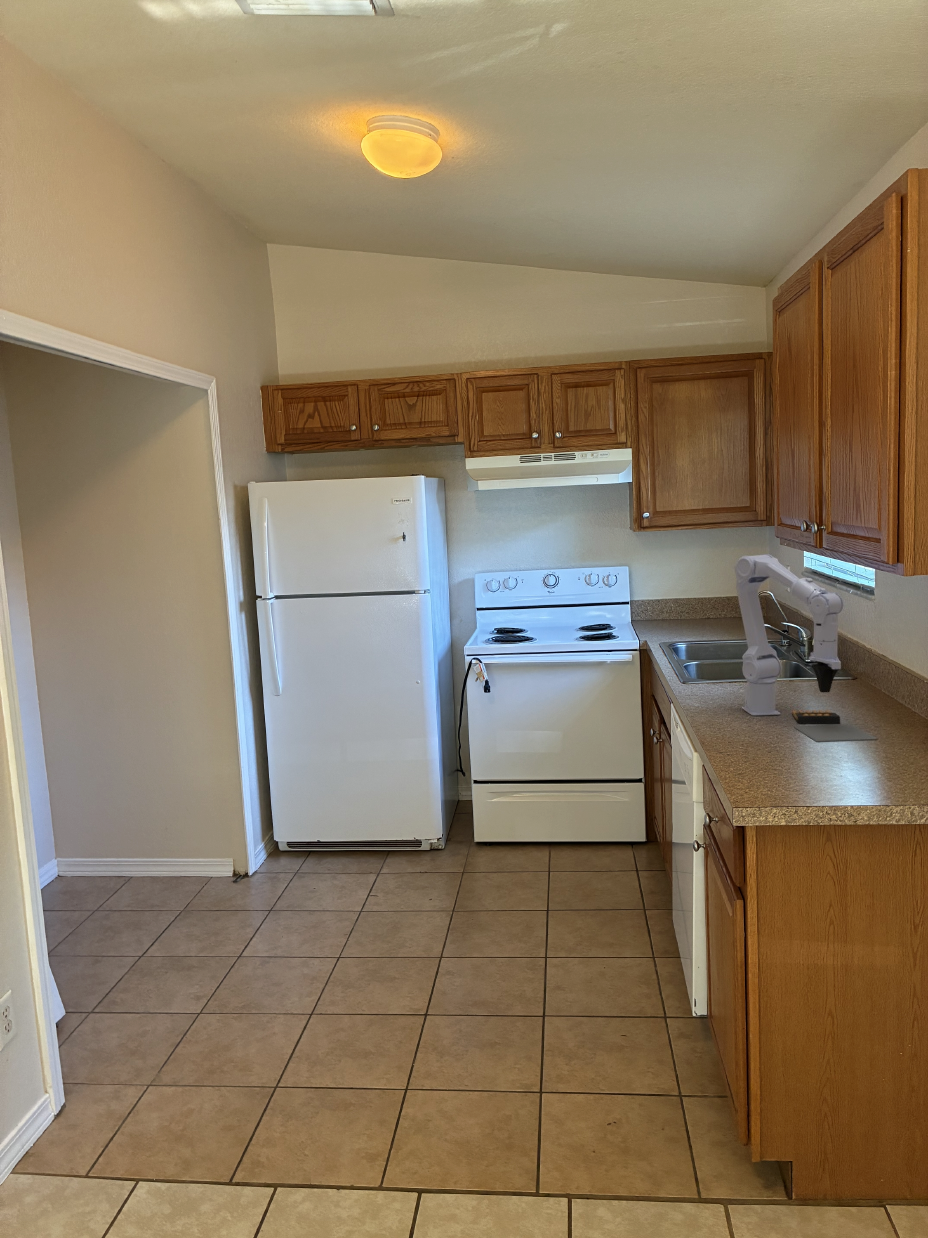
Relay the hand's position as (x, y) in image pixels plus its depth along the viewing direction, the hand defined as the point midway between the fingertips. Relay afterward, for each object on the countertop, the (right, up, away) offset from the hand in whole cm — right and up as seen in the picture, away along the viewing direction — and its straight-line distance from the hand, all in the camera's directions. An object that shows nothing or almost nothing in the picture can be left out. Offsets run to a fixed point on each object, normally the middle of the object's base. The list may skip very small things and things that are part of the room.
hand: (824, 691), depth 241 cm
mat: (0, -10, -5) cm, 11 cm away
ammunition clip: (0, -8, +5) cm, 9 cm away
